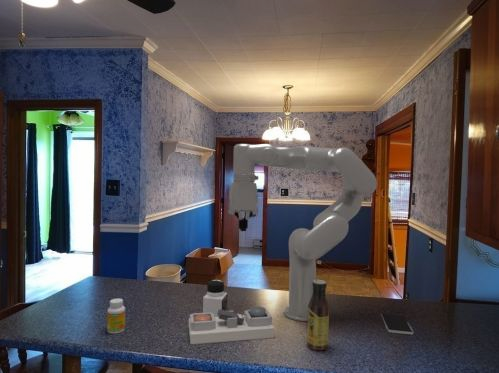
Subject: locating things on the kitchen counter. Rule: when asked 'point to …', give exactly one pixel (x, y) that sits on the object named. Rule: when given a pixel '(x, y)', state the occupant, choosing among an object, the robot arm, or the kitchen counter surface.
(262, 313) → the slate button
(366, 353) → the kitchen counter surface
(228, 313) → the block
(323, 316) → the sauce bottle
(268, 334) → the switch panel
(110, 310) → the supplement bottle
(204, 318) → the terracotta button
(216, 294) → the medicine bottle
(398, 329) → the smartphone
